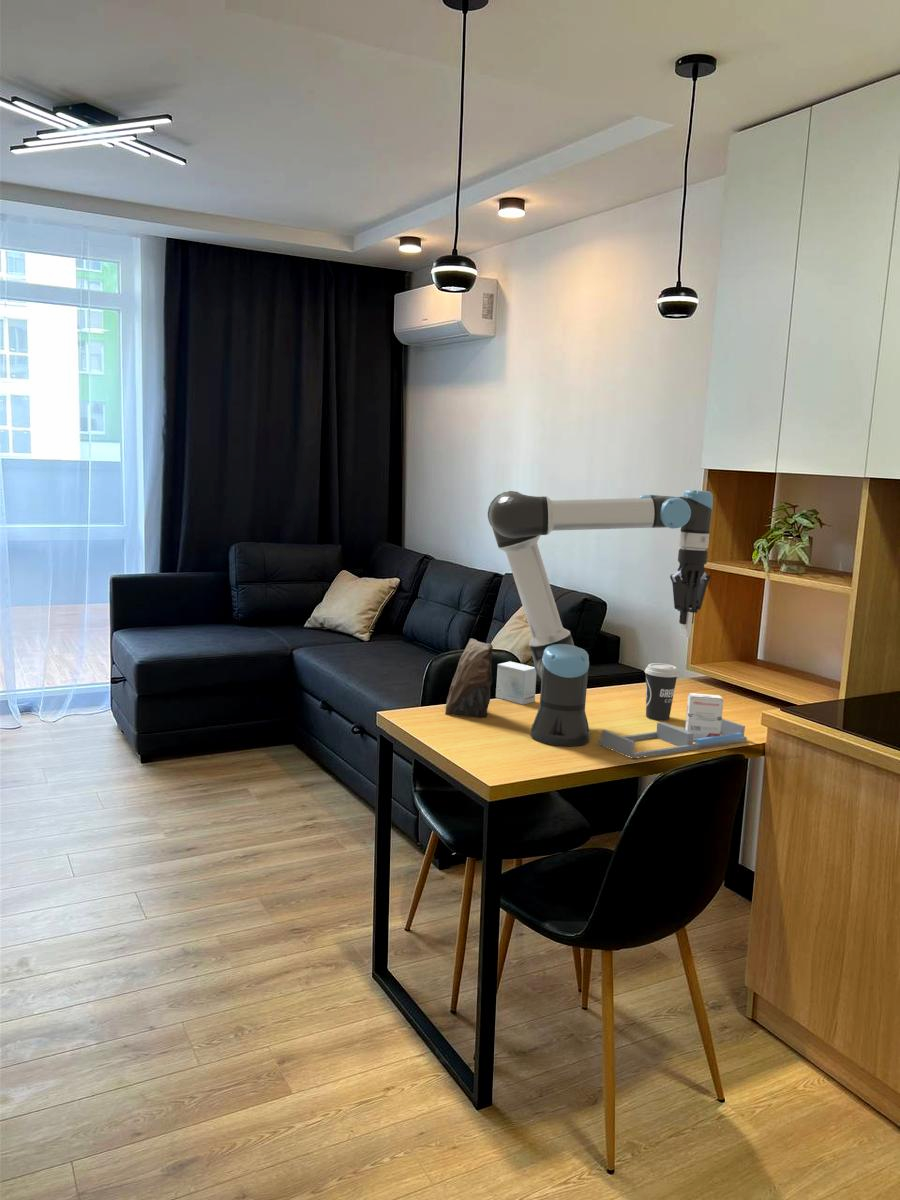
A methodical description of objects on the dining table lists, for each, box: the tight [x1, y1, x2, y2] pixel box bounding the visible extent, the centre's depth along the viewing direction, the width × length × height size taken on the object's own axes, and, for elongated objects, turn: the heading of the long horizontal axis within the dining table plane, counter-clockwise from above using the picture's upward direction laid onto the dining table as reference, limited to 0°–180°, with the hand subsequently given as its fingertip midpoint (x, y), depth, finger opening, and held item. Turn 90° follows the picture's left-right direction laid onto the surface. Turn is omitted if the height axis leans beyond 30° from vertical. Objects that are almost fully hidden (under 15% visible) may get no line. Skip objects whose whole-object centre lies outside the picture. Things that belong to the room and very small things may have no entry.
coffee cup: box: [644, 662, 680, 722], centre depth 262 cm, size 10×10×15 cm
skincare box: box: [495, 660, 538, 705], centre depth 274 cm, size 10×6×10 cm, turn 48°
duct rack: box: [597, 717, 748, 759], centre depth 238 cm, size 40×13×4 cm, turn 121°
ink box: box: [684, 692, 724, 742], centre depth 243 cm, size 9×5×12 cm, turn 84°
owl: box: [444, 638, 494, 719], centre depth 256 cm, size 13×13×20 cm
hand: (684, 635), depth 248 cm, fingers closed
